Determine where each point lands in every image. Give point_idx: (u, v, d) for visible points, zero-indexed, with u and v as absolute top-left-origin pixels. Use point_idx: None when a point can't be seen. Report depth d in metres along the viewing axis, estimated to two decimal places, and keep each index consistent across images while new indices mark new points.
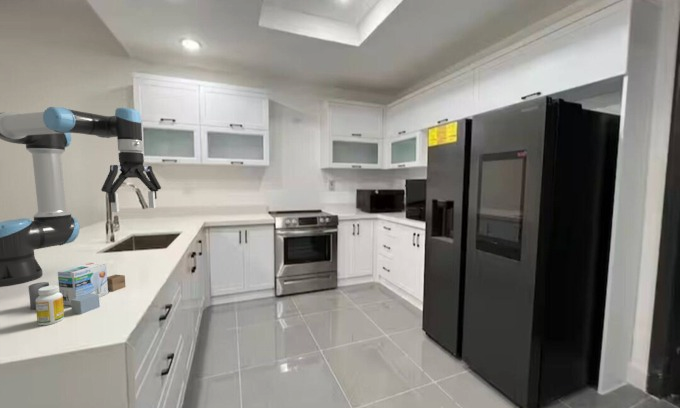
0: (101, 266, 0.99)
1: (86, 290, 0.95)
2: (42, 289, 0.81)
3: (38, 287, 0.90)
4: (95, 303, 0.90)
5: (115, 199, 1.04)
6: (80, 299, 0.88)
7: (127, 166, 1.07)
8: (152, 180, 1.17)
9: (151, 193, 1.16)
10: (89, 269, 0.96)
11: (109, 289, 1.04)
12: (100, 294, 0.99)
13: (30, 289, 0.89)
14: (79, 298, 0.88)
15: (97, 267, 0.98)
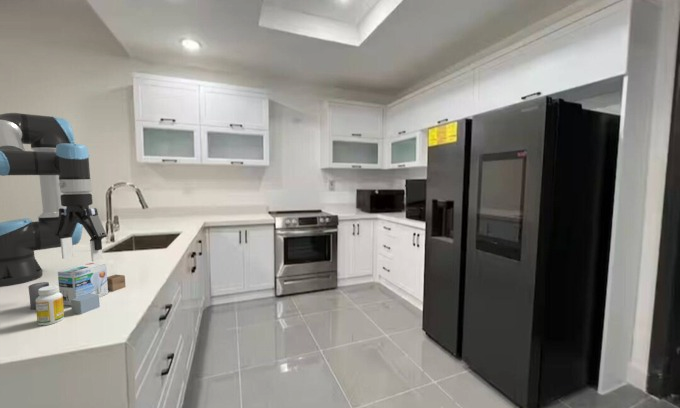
0: (101, 266, 0.99)
1: (86, 290, 0.95)
2: (42, 289, 0.81)
3: (38, 287, 0.90)
4: (95, 303, 0.90)
5: None
6: (80, 299, 0.88)
7: (68, 210, 0.94)
8: None
9: None
10: (89, 269, 0.96)
11: (109, 289, 1.04)
12: (100, 294, 0.99)
13: (30, 289, 0.89)
14: (79, 298, 0.88)
15: (97, 267, 0.98)
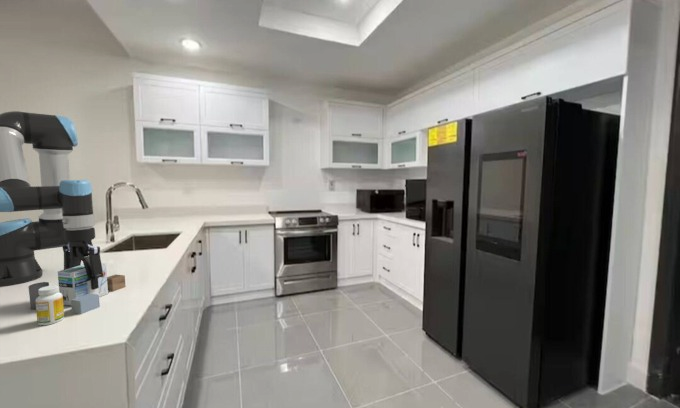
0: None
1: (86, 290, 0.95)
2: (42, 289, 0.81)
3: (38, 287, 0.90)
4: (95, 303, 0.90)
5: None
6: (80, 299, 0.88)
7: (71, 243, 0.96)
8: None
9: None
10: None
11: (109, 289, 1.04)
12: (100, 294, 0.99)
13: (30, 289, 0.89)
14: (79, 298, 0.88)
15: None
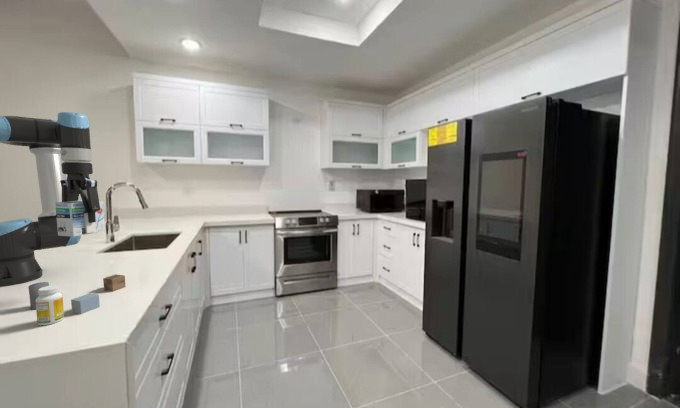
0: None
1: (83, 223, 0.96)
2: (42, 289, 0.81)
3: (38, 287, 0.90)
4: (95, 303, 0.90)
5: None
6: (80, 299, 0.88)
7: (69, 177, 0.97)
8: None
9: None
10: None
11: (109, 289, 1.04)
12: (97, 229, 1.00)
13: (30, 289, 0.89)
14: (79, 298, 0.88)
15: None
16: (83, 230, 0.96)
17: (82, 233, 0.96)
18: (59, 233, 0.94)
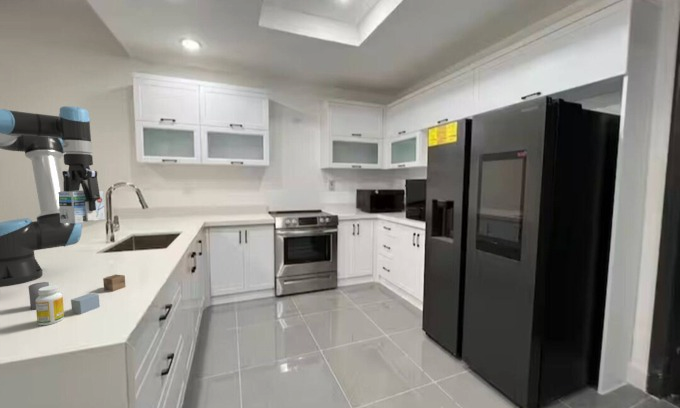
0: None
1: (84, 211, 1.02)
2: (42, 289, 0.81)
3: (38, 287, 0.90)
4: (95, 303, 0.90)
5: None
6: (80, 299, 0.88)
7: (70, 168, 1.03)
8: None
9: None
10: None
11: (109, 289, 1.04)
12: (97, 218, 1.06)
13: (30, 289, 0.89)
14: (79, 298, 0.88)
15: None
16: (84, 218, 1.02)
17: (83, 220, 1.01)
18: (61, 220, 1.00)
